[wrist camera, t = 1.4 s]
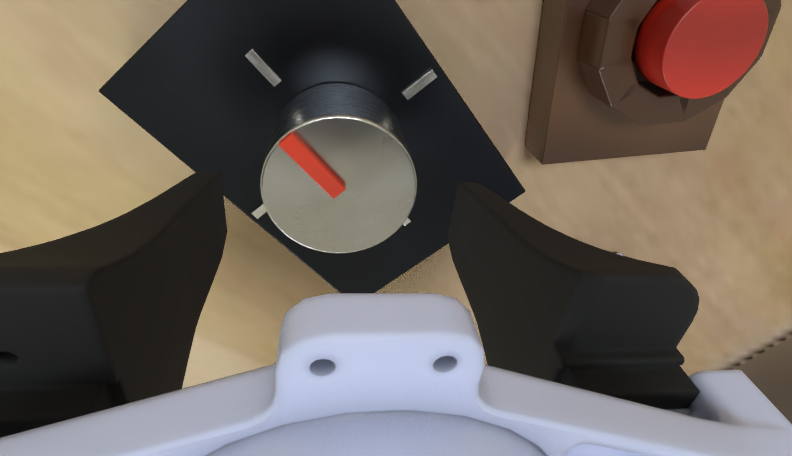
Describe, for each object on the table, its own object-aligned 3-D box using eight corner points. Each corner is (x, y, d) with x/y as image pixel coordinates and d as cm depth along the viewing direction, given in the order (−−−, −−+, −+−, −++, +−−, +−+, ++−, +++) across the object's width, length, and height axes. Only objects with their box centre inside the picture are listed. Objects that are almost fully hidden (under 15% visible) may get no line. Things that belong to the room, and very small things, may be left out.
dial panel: (504, 163, 23) (527, 193, 20) (352, 269, 25) (355, 308, 23) (312, -116, 16) (309, -125, 13) (129, 69, 18) (95, 92, 16)
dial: (427, 155, 19) (448, 202, 15) (332, 225, 20) (333, 282, 17) (345, 52, 16) (350, 83, 13) (242, 140, 17) (222, 188, 14)
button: (710, 81, 18) (743, 95, 16) (623, 88, 18) (650, 103, 16) (745, -22, 16) (788, -17, 14) (649, -16, 16) (681, -11, 14)
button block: (676, 132, 23) (734, 166, 20) (524, 145, 22) (558, 183, 19) (765, -146, 17) (871, -164, 14) (560, -139, 16) (620, -156, 13)
